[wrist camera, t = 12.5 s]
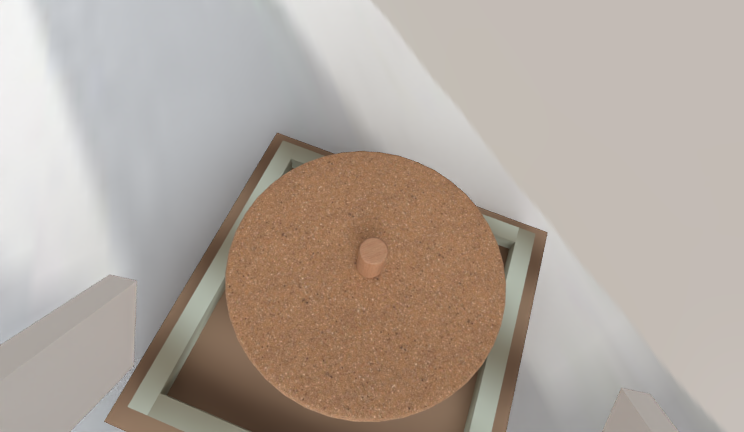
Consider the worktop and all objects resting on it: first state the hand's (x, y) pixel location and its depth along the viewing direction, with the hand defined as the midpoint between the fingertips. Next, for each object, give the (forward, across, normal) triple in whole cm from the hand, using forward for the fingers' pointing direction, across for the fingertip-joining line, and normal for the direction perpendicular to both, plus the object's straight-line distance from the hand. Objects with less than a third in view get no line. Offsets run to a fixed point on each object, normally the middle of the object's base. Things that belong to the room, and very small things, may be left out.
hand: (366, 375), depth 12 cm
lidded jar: (+11, +1, +5) cm, 12 cm away
